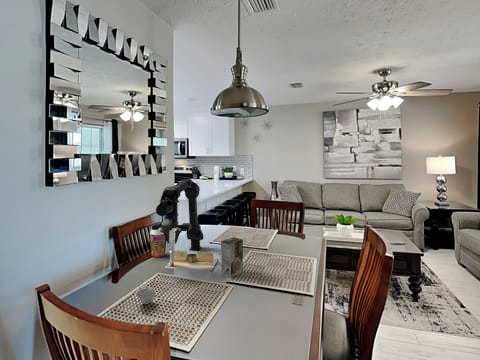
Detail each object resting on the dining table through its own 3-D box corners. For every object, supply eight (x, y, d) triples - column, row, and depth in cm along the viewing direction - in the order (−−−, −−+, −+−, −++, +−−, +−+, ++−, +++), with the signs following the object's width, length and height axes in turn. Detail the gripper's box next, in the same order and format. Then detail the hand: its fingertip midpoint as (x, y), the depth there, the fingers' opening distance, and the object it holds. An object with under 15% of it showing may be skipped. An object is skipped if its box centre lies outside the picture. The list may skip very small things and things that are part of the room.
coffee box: (233, 268, 143) (233, 236, 142) (243, 272, 139) (243, 239, 138) (220, 274, 136) (220, 240, 135) (230, 277, 132) (231, 243, 131)
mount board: (174, 258, 158) (174, 256, 158) (218, 260, 156) (218, 258, 156) (164, 268, 142) (164, 267, 142) (211, 271, 140) (211, 270, 140)
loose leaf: (198, 260, 152) (198, 251, 152) (213, 260, 152) (213, 252, 152) (197, 261, 151) (197, 252, 151) (212, 261, 150) (212, 253, 150)
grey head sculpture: (133, 303, 108) (132, 285, 107) (150, 297, 113) (150, 280, 112) (140, 309, 103) (140, 291, 103) (158, 303, 108) (158, 285, 108)
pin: (170, 264, 146) (170, 250, 146) (175, 264, 146) (175, 250, 146) (168, 266, 144) (168, 251, 143) (173, 266, 143) (173, 251, 143)
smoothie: (149, 259, 155) (149, 223, 154) (150, 254, 163) (149, 219, 162) (165, 258, 157) (165, 222, 156) (165, 253, 165) (165, 219, 164)
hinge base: (175, 258, 156) (175, 249, 155) (198, 259, 154) (198, 250, 154) (171, 261, 150) (171, 252, 150) (195, 263, 149) (195, 253, 149)
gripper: (146, 215, 136) (147, 247, 137) (185, 216, 134) (185, 249, 135) (156, 211, 147) (156, 241, 148) (191, 212, 145) (191, 242, 146)
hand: (171, 243), depth 144 cm, fingers open, 3 cm apart
